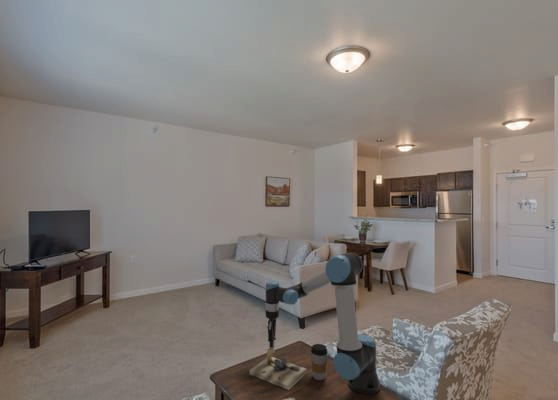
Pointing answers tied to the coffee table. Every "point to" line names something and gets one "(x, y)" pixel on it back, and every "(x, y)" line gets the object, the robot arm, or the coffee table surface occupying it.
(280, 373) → the lever board
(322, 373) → the coffee cup
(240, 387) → the coffee table surface
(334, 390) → the coffee table surface
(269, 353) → the grey round handled piece
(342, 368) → the robot arm
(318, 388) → the coffee table surface
